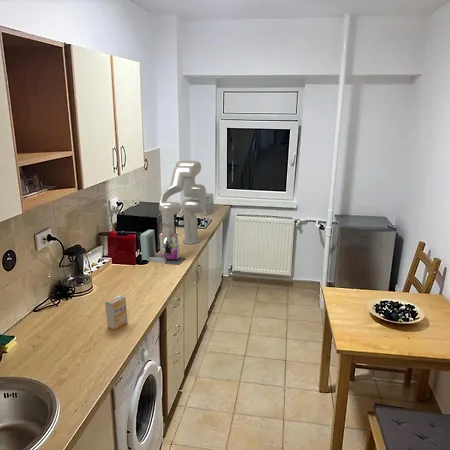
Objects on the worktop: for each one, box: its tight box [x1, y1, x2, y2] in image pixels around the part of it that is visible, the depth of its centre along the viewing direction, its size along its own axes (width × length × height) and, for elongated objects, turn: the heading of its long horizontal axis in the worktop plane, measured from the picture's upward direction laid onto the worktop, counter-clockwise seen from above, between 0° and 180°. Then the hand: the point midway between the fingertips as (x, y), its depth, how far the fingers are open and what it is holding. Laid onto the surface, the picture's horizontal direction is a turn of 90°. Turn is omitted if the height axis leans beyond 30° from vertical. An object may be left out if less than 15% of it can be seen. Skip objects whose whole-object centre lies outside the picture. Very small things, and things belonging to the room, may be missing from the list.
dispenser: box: [139, 229, 167, 264], centre depth 266 cm, size 12×16×18 cm
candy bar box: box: [158, 232, 180, 260], centre depth 263 cm, size 11×5×16 cm, turn 82°
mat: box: [164, 256, 187, 266], centre depth 264 cm, size 12×10×1 cm
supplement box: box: [104, 294, 128, 331], centre depth 185 cm, size 8×5×13 cm, turn 148°
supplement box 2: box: [190, 192, 215, 216], centre depth 382 cm, size 17×13×18 cm
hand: (169, 251), depth 264 cm, fingers closed on candy bar box, 5 cm apart
